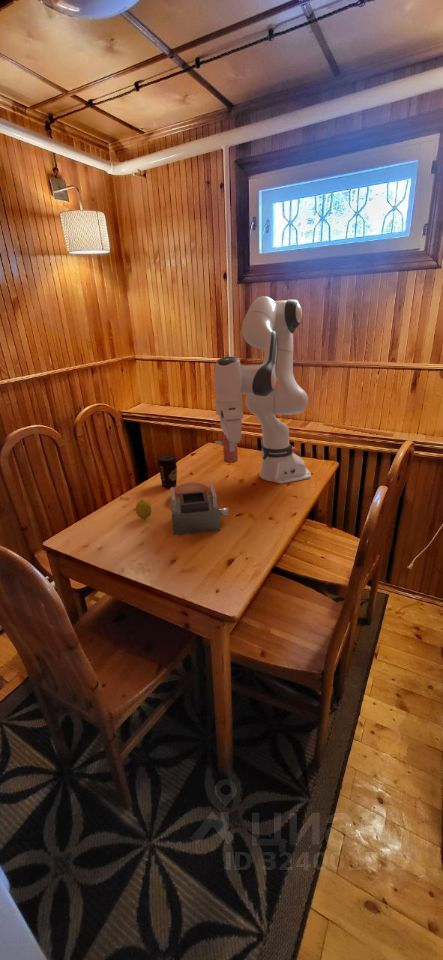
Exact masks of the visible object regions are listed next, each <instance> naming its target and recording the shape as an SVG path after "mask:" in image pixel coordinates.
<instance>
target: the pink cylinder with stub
mask: <svg viewBox="0 0 443 960" xmlns="http://www.w3.org/2000/svg"><path fill="white" fill-rule="evenodd" d="M214 443H215V445H222V446H223V448H222V450H223V462H224V463H226V464H234V463H237V462H238V443H235V451H233V452H230V450H229V441H228V439H227V437H226V436H225V434H223V435H222V440H215V441H214Z"/></svg>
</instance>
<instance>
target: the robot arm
mask: <svg viewBox="0 0 443 960" xmlns="http://www.w3.org/2000/svg"><path fill="white" fill-rule="evenodd" d="M247 310H248V311H247V312H246V314H245V316H244V320H243V322H242V325H241V335H242V337H243V339H244V340H245V342H246V343H247V344H248V345H249V346H251V347H252V348H255V349H259V350H262V351H264V355H263V363H260V364H257V365H255V364H254V365H253V364H241V361H240V358H238V357H236V356H225V357H224V356H223V357H220V358H219V359H217V361H216V362H215V368H214V389H215V393H216V395H215V414H216V415H217V416H219V419H220V429H221V431H222V432H223V435H225V436H226V437H227V439H228V441H229V450H230V452H233V451H235V443H237V444H239V443H240V442H241V441H242V430H243V429H242V427H243V425H242V423H243V422H242V421H243V419H244V409H243V396H242V395H246V396H245V406H246V408H247V410H248V411H249V412H250V413H252V414H253V415H254V416H255V417H256V419H257V420H258V422H259V424H260V427H261V431H262V445H261V458H262V461H261V467H260V472H259V478H261V479H262V480H264V481H268V482H273V483H276V484H279V485H280V484H286V483H287V484H288V483H292V482H296V481H301V480H307V479H311V477H312V474H311V472H310V470H309V469H308V468H307V467H306V463H305V461H304V460H303V459H302V458H301V457H300V456H299V455H297V454H296V452H297V448H296V447H295V446H293V445H291V444H290V429H289V427H288V425H287V424H286V423H284V422H283V421H281V420H279V419H278V418H277V417H276V415H287V416H290V415H291V416H292V415H298V414H302V413H304V412H305V411H306V409H307V407H308V405H309V397H308V394H307V392H306V391H305V390H304V389H303V388H302V387H301V386H300V385H299V384H298V382H297V381H296V378H295V376H294V371H293V370H294V369H293V367H294V366H293V364H294V349H295V348H294V335H293V333H295V332H296V330H297V328H298V327H299V326H300V324H301V322H302V319H303V308H302V305H301V303H300V302H299V300H297V299H292V298H291V299H287V300H285V299H284V300H282V299H281V300H274V299H272V298H271V297H269V296H264V295H263V296H259V297H257V298H256V299H255V300H254V301H253V302H252V303H251V305H250V307H249V308H248V309H247ZM277 382H278V386H277V387H276V385H277Z"/></svg>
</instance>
